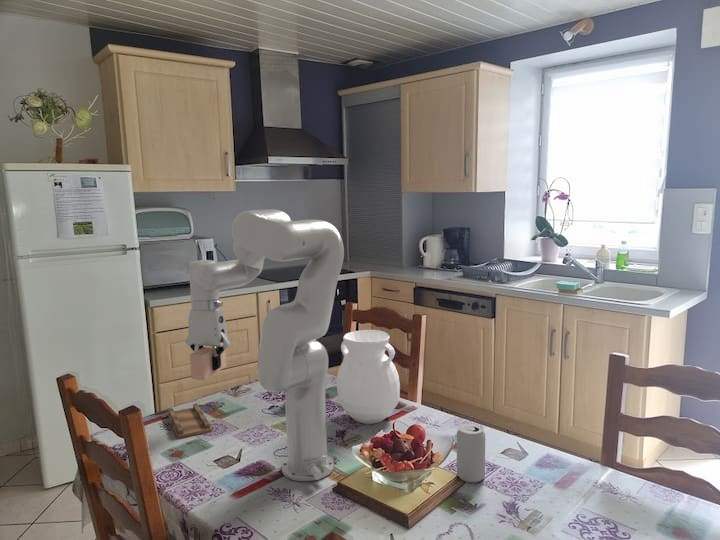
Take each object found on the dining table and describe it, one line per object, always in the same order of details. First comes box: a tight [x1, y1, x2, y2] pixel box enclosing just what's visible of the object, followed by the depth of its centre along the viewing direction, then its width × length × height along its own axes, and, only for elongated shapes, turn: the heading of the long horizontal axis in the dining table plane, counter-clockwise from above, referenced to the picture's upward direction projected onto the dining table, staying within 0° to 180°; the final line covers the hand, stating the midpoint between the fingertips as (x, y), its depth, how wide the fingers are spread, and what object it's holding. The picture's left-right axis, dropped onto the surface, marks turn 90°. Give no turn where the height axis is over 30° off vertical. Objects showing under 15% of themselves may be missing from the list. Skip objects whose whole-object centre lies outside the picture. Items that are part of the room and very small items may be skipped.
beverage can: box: [456, 422, 486, 484], centre depth 123 cm, size 6×6×12 cm
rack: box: [167, 403, 212, 440], centre depth 156 cm, size 18×9×2 cm, turn 28°
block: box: [189, 343, 227, 381], centre depth 151 cm, size 4×12×7 cm, turn 165°
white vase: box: [336, 329, 401, 425], centre depth 156 cm, size 19×18×25 cm
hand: (209, 367), depth 151 cm, fingers closed on block, 4 cm apart
